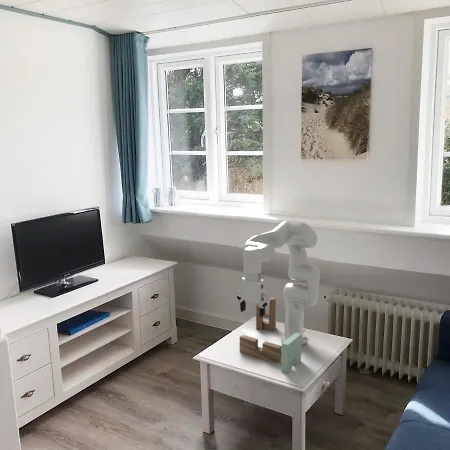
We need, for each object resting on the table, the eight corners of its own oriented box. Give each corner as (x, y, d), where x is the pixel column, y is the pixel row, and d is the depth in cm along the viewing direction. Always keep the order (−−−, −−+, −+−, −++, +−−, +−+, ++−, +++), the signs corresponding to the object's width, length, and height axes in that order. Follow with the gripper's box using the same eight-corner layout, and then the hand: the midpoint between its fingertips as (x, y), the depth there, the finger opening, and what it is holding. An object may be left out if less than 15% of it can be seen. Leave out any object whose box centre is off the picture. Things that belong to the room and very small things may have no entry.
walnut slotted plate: (242, 349, 240) (242, 334, 238) (281, 361, 227) (281, 345, 226) (239, 351, 237) (239, 336, 236) (278, 363, 225) (278, 348, 223)
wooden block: (256, 326, 267) (256, 296, 263) (275, 327, 265) (276, 297, 261) (256, 329, 263) (256, 298, 260) (275, 330, 262) (276, 299, 258)
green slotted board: (295, 359, 229) (295, 332, 226) (300, 361, 228) (301, 333, 225) (281, 371, 218) (281, 343, 215) (287, 373, 216) (287, 344, 213)
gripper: (274, 277, 201) (274, 314, 205) (240, 270, 211) (240, 306, 215) (265, 281, 195) (265, 320, 199) (230, 274, 205) (231, 311, 209)
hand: (252, 313), depth 207 cm, fingers open, 9 cm apart
